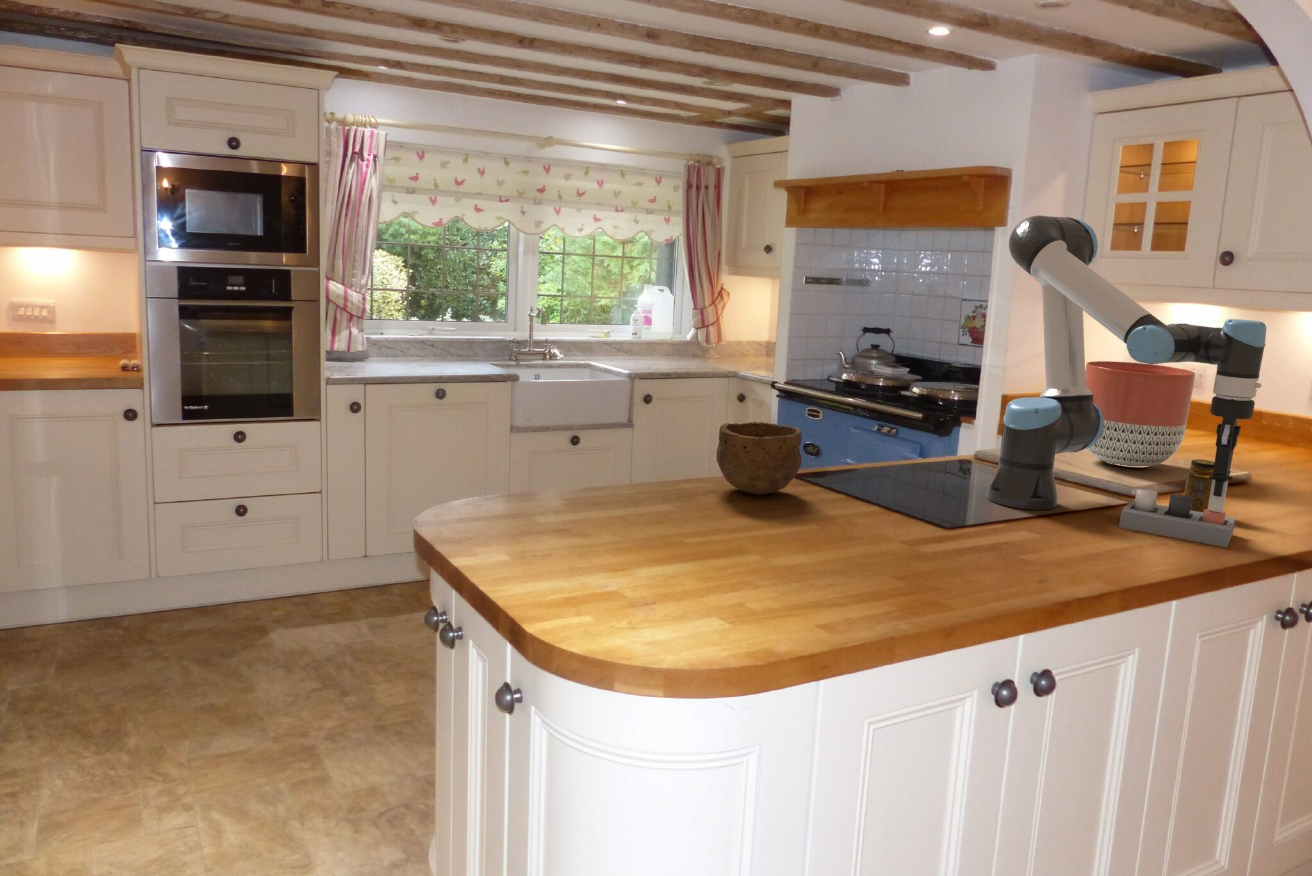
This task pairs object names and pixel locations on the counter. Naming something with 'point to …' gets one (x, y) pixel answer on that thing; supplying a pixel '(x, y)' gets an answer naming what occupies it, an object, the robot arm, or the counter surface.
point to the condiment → (1199, 484)
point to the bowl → (759, 455)
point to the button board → (1177, 525)
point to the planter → (1139, 410)
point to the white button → (1145, 499)
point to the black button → (1179, 505)
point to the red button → (1213, 517)
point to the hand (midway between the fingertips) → (1215, 510)
